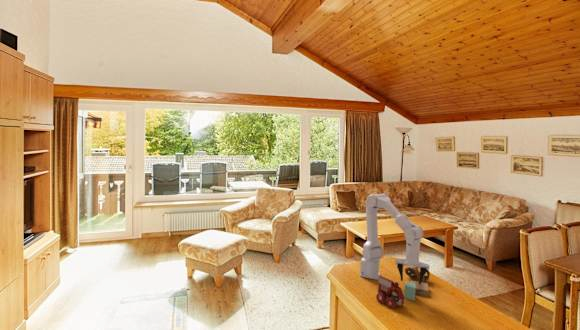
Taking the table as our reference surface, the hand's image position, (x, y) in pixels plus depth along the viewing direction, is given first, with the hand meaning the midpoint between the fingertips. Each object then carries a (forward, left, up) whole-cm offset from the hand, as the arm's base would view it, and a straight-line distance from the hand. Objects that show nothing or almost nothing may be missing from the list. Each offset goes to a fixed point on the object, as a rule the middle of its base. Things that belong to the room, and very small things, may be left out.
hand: (410, 281), depth 141 cm
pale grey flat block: (+4, +9, -8) cm, 12 cm away
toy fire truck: (-8, -9, -8) cm, 15 cm away
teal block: (0, 0, -8) cm, 8 cm away
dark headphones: (+3, +22, -8) cm, 23 cm away
